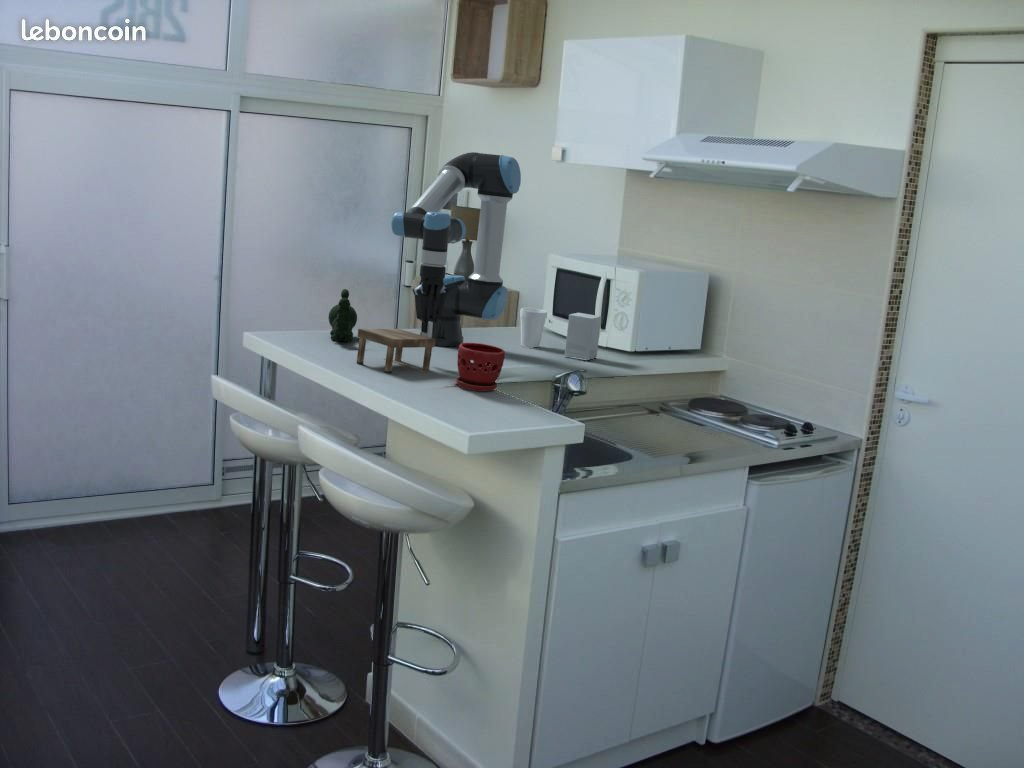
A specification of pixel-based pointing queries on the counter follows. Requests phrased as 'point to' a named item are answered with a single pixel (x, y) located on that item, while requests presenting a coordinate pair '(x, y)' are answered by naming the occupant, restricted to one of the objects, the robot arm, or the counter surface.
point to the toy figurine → (342, 319)
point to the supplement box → (583, 336)
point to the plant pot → (479, 366)
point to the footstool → (394, 344)
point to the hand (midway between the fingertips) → (426, 342)
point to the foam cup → (532, 326)
